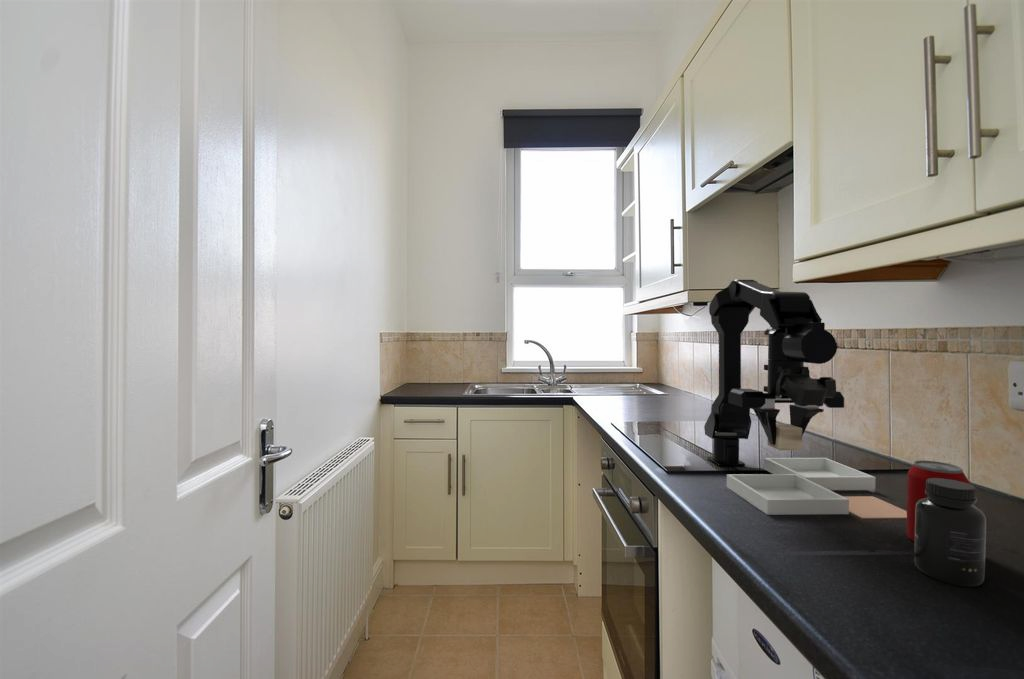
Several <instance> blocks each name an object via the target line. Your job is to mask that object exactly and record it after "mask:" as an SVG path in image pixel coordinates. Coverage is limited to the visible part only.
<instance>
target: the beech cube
mask: <svg viewBox="0 0 1024 679" xmlns="http://www.w3.org/2000/svg"><path fill="white" fill-rule="evenodd" d="M767 446H769V447H771V448H774V449H776V450H778V451H803V436H802V428H800V427H797V426H794V425H791V423H776V443H775V445H771V444H770V442H769V440H768V439H767Z"/></svg>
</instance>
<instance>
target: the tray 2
mask: <svg viewBox="0 0 1024 679" xmlns="http://www.w3.org/2000/svg"><path fill="white" fill-rule="evenodd" d="M763 470H764V471H767V472H768V473H769V474H797V475H799V476H801V477H803V478H806V479H808V480H810V481H812V482H814V483H816V484H818V485H820V486H822V487H824V488H826V489H828V490H831V491H869V492H870V493H876V476H873V475H871V474H868V473H866V472H863V471H860V470H857V469H856V468H853V467H850V466H848V465H845V464H842V463H840V462H837V461H835V460H833V459H829V458H828V457H764V458H763Z"/></svg>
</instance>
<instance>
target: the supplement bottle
mask: <svg viewBox="0 0 1024 679" xmlns="http://www.w3.org/2000/svg"><path fill="white" fill-rule="evenodd" d="M925 494H926V495H928V496H927V497H925V498H922V499H920V500H919V501H918V502H917V503H916V507H915V542H914V541H913V542H914V543H913V544H914V546H913V548H914V550H913V552H914V553H913V554H914V556H913V558H914V559H913V560H914V565H915V567H916V568H917V569H918V570H919V571H920V572H921V573H924V575H926V576H928V577H931V578H932V579H935V580H937V581H939V582H940V581H941V582H944V583H947V584H950V585H951V584H952V585H956V586H960V587H961V586H962V587H977V586H980V585H982V584H983V583H984V581H985V573H986V544H987V540H986V539H987V517H986V515H985V513H984V512H983V511H982V510H981V509H979V508H978V507H977V506H975V505H974V504H976V503H977V500H978V498H977V489H976V487H975V486H974V485H972V484H970V483H969V484H967V483H964V482H960V481H956V480H950V479H942V478H929V479H927V480H926V489H925Z"/></svg>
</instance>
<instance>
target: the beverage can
mask: <svg viewBox="0 0 1024 679" xmlns="http://www.w3.org/2000/svg"><path fill="white" fill-rule="evenodd" d="M929 478H942V479H950V480H956V481H960V482H964V483H967V484H970V481H969V478H968V477H967V476H966V474H965V472H964V471H963V468H962V467H960V466H958V465H955V464H951V463H947V462H942V461H934V460H915V461H913V465H912V466H911V467H910V469H909V470H908V471H907V486H906V487H907V490H906V491H907V492H906V511H907V518H906V536H907V537H908V538H909V539H910V540H911V541H913V542H915V507H916V503H917V502H918V501H919V500H920V499H922V498H925V497H927V496H928V495H926V494H925V489H926V480H927V479H929Z"/></svg>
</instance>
